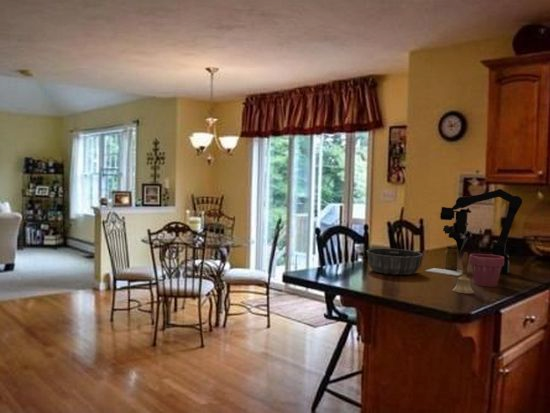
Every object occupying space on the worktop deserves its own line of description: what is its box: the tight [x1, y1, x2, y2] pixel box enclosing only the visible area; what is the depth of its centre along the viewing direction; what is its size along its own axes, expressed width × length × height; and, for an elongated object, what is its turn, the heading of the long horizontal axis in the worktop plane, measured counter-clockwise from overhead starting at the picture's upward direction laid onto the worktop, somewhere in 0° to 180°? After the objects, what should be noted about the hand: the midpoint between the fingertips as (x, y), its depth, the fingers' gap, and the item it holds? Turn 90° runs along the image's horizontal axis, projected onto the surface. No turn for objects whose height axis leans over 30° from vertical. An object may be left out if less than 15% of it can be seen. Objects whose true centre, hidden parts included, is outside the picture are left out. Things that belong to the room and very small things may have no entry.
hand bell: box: [452, 251, 475, 295], centre depth 213 cm, size 8×8×16 cm
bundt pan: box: [366, 247, 423, 276], centre depth 253 cm, size 26×26×10 cm
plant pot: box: [468, 253, 504, 288], centre depth 230 cm, size 14×14×13 cm
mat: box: [424, 267, 463, 277], centre depth 258 cm, size 16×11×1 cm
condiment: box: [444, 245, 463, 272], centre depth 266 cm, size 7×8×12 cm
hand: (459, 251), depth 273 cm, fingers closed
